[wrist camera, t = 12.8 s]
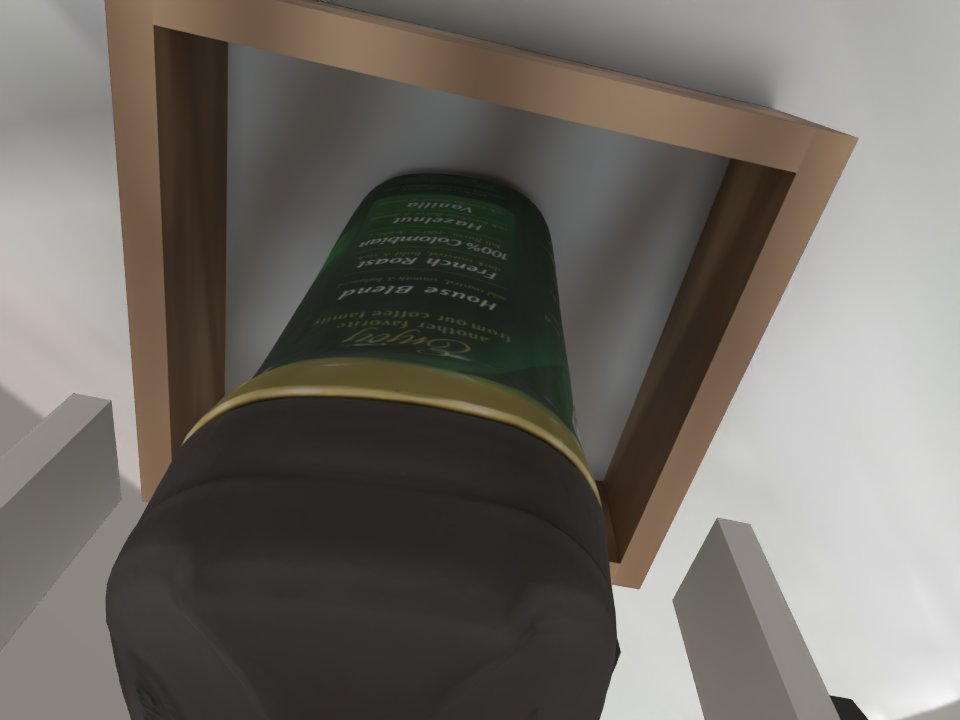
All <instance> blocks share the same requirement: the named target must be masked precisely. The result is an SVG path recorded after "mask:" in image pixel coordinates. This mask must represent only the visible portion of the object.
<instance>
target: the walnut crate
mask: <svg viewBox="0 0 960 720" xmlns="http://www.w3.org/2000/svg"><path fill="white" fill-rule="evenodd" d="M105 10H106V24H107V37H108V50H109V64H110V77H111V91H112V104H113V117H114V131H115V144H116V158H117V171H118V184H119V198H120V211H121V225H122V238H123V251H124V265H125V278H126V292H127V305H128V318H129V332H130V345H131V359H132V372H133V385H134V399H135V412H136V425H137V439H138V452H139V466H140V479H141V492H142V501H145V502H150V500H151V498H152V496H153V494H154V492H155V490H156V488H157V486H158V485H159V483H160V481H161V480H162V478H163V476H164V475H165V473H166V471H167V469H168V467H169V465H170V464H171V462H172V460H173V458H174V457H175V455H176V453H177V452H178V450H179V448H180V447H181V445H182V443H183V441H184V439H185V437H186V436H187V434H188V433H189V432H190V431H191V429H192V428H193V427H194V426H195V424H196V423H197V422H198V421H199V420H200V419H201V418H202V417H203V416H204V415H205V414H206V413H207V412H208V411H209V410H210V409H211V408H212V407H214V406H215V405H216V404H217V403H218V402H219V401H220V400H221V399H222V398H223V397H224V396H226V395H227V394H228V393H230V392H231V391H233V390H234V389H236V388H237V387H239V386H240V385H242V384H243V383H245V382H247V381H249V380H251V379H252V378H253V376H254V375H255V373H256V372H257V371H258V369H259V368H260V367H261V365H262V364H263V362H264V360H265V359H266V357H267V356H268V354H269V353H270V351H271V350H272V348H273V346H274V345H275V343H276V342H277V340H278V338H279V337H280V335H281V334H282V332H283V330H284V329H285V327H286V326H287V324H288V322H289V321H290V319H291V317H292V316H293V314H294V312H295V311H296V309H297V308H298V306H299V305H300V303H301V301H302V300H303V298H304V297H305V295H306V293H307V292H308V290H309V288H310V287H311V285H312V283H313V282H314V280H315V278H316V277H317V275H318V273H319V272H320V270H321V268H322V267H323V265H324V263H325V261H326V260H327V258H328V256H329V254H330V252H331V250H332V249H333V247H334V245H335V243H336V241H337V240H338V238H339V236H340V234H341V233H342V231H343V229H344V228H345V226H346V224H347V223H348V221H349V220H350V218H351V216H352V215H353V213H354V212H355V210H356V209H357V207H358V206H359V205H360V203H361V202H362V200H363V199H364V198H365V196H366V195H367V194H368V193H369V192H370V191H371V190H373V189H374V188H375V187H376V186H378V185H380V184H381V183H383V182H384V181H387V180H389V179H391V178H394V177H397V176H401V175H408V174H420V173H440V174H451V175H460V176H465V177H471V178H477V179H483V180H488V181H492V182H495V183H499V184H502V185H505V186H508V187H510V188H512V189H514V190H516V191H518V192H520V193H521V194H523V195H524V196H525V197H527V198H528V199H529V200H530V201H531V202H533V203H534V204H535V205H536V207H537V208H538V209H539V211H540V212H541V214H542V215H543V217H544V219H545V221H546V223H547V225H548V228H549V231H550V235H551V240H552V246H553V252H554V259H555V266H556V277H557V285H558V293H559V302H560V311H561V319H562V326H563V332H564V339H565V345H566V353H567V360H568V366H569V373H570V381H571V388H572V394H573V401H574V407H575V413H576V419H577V425H578V431H579V436H580V441H581V445H582V448H583V452H584V455H585V457H586V460H587V462H588V464H589V466H590V469H591V471H592V473H593V476H594V479H595V482H596V486H597V489H598V492H599V496H600V501H601V505H602V510H603V515H604V519H605V524H606V532H607V545H608V555H609V565H610V575H611V584H612V585H618V586H623V587H629V588H635V589H640V587H641V585H642V583H643V581H644V579H645V577H646V575H647V573H648V571H649V569H650V567H651V565H652V563H653V560H654V558H655V556H656V554H657V552H658V550H659V548H660V546H661V544H662V542H663V540H664V538H665V536H666V534H667V532H668V530H669V528H670V525H671V523H672V521H673V519H674V517H675V515H676V513H677V511H678V509H679V507H680V505H681V503H682V501H683V499H684V497H685V495H686V493H687V491H688V488H689V486H690V484H691V482H692V480H693V478H694V476H695V474H696V472H697V470H698V468H699V466H700V464H701V462H702V460H703V458H704V456H705V453H706V451H707V449H708V447H709V445H710V443H711V441H712V439H713V437H714V435H715V433H716V431H717V429H718V427H719V425H720V423H721V421H722V418H723V416H724V414H725V412H726V410H727V408H728V406H729V404H730V402H731V400H732V398H733V396H734V394H735V392H736V390H737V388H738V386H739V384H740V381H741V379H742V377H743V375H744V373H745V371H746V369H747V367H748V365H749V363H750V361H751V359H752V357H753V355H754V353H755V351H756V349H757V346H758V344H759V342H760V340H761V338H762V336H763V334H764V332H765V330H766V328H767V326H768V324H769V322H770V320H771V318H772V316H773V314H774V311H775V309H776V307H777V305H778V303H779V301H780V299H781V297H782V295H783V293H784V291H785V289H786V287H787V285H788V283H789V281H790V279H791V277H792V274H793V272H794V270H795V268H796V266H797V264H798V262H799V260H800V258H801V256H802V254H803V252H804V250H805V248H806V246H807V244H808V242H809V239H810V237H811V235H812V233H813V231H814V229H815V227H816V225H817V223H818V221H819V219H820V217H821V215H822V213H823V211H824V209H825V207H826V204H827V202H828V200H829V198H830V196H831V194H832V192H833V190H834V188H835V186H836V184H837V182H838V180H839V178H840V176H841V174H842V172H843V169H844V167H845V165H846V163H847V161H848V159H849V157H850V155H851V153H852V151H853V149H854V147H855V145H856V143H857V141H858V139H859V138H856V137H854V136H851V135H848V134H845V133H842V132H839V131H836V130H833V129H830V128H828V127H825V126H822V125H819V124H816V123H813V122H810V121H807V120H805V119H802V118H799V117H796V116H793V115H790V114H787V113H784V112H781V111H779V110H776V109H772V108H768V107H764V106H759V105H755V104H751V103H747V102H743V101H738V100H734V99H730V98H726V97H722V96H717V95H713V94H709V93H705V92H700V91H696V90H692V89H688V88H684V87H679V86H675V85H671V84H667V83H663V82H658V81H654V80H650V79H646V78H641V77H637V76H633V75H629V74H625V73H620V72H616V71H612V70H608V69H604V68H599V67H595V66H591V65H587V64H582V63H578V62H574V61H570V60H566V59H561V58H557V57H553V56H549V55H545V54H540V53H536V52H532V51H528V50H523V49H519V48H515V47H511V46H507V45H502V44H498V43H494V42H490V41H486V40H481V39H477V38H473V37H469V36H464V35H460V34H456V33H452V32H448V31H443V30H439V29H435V28H431V27H427V26H422V25H418V24H414V23H410V22H405V21H401V20H397V19H393V18H389V17H384V16H380V15H376V14H372V13H368V12H363V11H359V10H355V9H351V8H347V7H342V6H338V5H334V4H330V3H325V2H321V1H317V0H105Z"/></svg>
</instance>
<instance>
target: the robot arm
mask: <svg viewBox="0 0 960 720" xmlns="http://www.w3.org/2000/svg"><path fill="white" fill-rule="evenodd" d="M121 499H122V498H121V489H120V479H119V470H118V460H117V451H116V441H115V432H114V422H113V412H112V403H111V400H106V399H101V398H96V397H91V396H85V395H80V394H75V393H73V394H72V395H71V396H70V397H69V398H67V399H66V400H65V401H64V402H63V403H62V404H61V405H59V406H58V407H57V408H56V409H55V410H54V411H53V412H51V413H50V414H49V415H48V416H47V417H46V418H45V419H44V420H42V421H41V422H40V423H39V424H38V425H37V426H36V427H34V428H33V429H32V430H31V431H30V432H29V433H28V434H26V435H25V436H24V437H23V438H22V439H21V440H20V441H18V442H17V443H16V444H15V445H14V446H13V447H12V448H10V449H9V450H8V451H7V452H6V453H5V454H4V455H3V456H1V457H0V651H1V650H2V648H3V647H4V646H5V645H6V643H7V642H8V641H9V639H10V638H11V637H12V636H13V635H14V633H15V632H16V630H18V628H19V627H20V626H21V625H22V623H23V622H24V621H25V620H26V618H27V617H28V616H29V614H30V613H31V612H32V611H33V610H34V608H35V607H36V606H37V604H38V603H39V602H40V601H41V599H42V598H43V597H44V596H45V594H46V593H47V592H48V591H49V589H50V588H51V587H52V586H53V584H54V583H55V582H56V581H57V579H58V578H59V577H60V576H61V574H62V573H63V572H64V571H65V569H66V568H67V567H68V566H69V564H70V563H71V562H72V560H73V559H74V558H75V557H76V556H77V554H78V553H79V552H80V550H81V549H82V548H83V547H84V545H85V544H86V543H87V542H88V540H89V539H90V538H91V537H92V535H93V534H94V533H95V532H96V530H97V529H98V528H99V526H100V525H101V524H102V523H103V522H104V520H105V519H106V518H107V517H108V515H109V514H110V513H111V511H112V510H113V509H114V508H115V506H116V505H117V504H118V503H119V501H120V500H121ZM673 604H674V608H675V611H676V615H677V619H678V623H679V626H680V630H681V634H682V637H683V641H684V645H685V648H686V652H687V656H688V660H689V663H690V667H691V671H692V674H693V678H694V682H695V685H696V689H697V693H698V697H699V700H700V704H701V708H702V711H703V715H704V719H705V720H868V719H867V717H866V716H865V715H864V714H863V713H862V711H861V710H860V709H859V708H858V707H857V705H856V704H855V703H854V702H853V700H852V699H847V698H841V697H836V696H830V695H829V694H828V691H827V689H826V687H825V685H824V683H823V681H822V678H821V676H820V674H819V672H818V670H817V668H816V665H815V663H814V661H813V659H812V657H811V655H810V652H809V650H808V648H807V646H806V644H805V642H804V639H803V637H802V635H801V633H800V631H799V629H798V626H797V624H796V622H795V620H794V618H793V616H792V613H791V611H790V609H789V607H788V605H787V603H786V600H785V598H784V596H783V594H782V592H781V590H780V587H779V585H778V583H777V581H776V579H775V577H774V574H773V572H772V570H771V568H770V566H769V564H768V561H767V559H766V557H765V555H764V553H763V551H762V548H761V546H760V544H759V542H758V540H757V538H756V535H755V533H754V531H753V529H752V527H751V525H750V524H747V523H742V522H737V521H732V520H727V519H721V518H717V519H716V521H715V523H714V524H713V526H712V528H711V530H710V532H709V534H708V536H707V537H706V539H705V541H704V543H703V545H702V547H701V549H700V550H699V552H698V554H697V556H696V558H695V560H694V561H693V563H692V565H691V567H690V569H689V571H688V573H687V574H686V576H685V578H684V580H683V582H682V584H681V585H680V587H679V589H678V591H677V593H676V595H675V597H674V598H673Z"/></svg>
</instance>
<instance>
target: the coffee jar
mask: <svg viewBox="0 0 960 720" xmlns="http://www.w3.org/2000/svg"><path fill="white" fill-rule="evenodd" d="M106 622H107V625H108V628H109V631H110V636H111V642H112V647H113V652H114V658H115V663H116V668H117V672H118V676H119V682H120V685H121V688H122V692H123V695H124V699H125V702H126V704H127V707H128V711H129V714H130V717H131V720H599V719H600V716H601V713H602V710H603V706H604V702H605V698H606V693H607V690H608V687H609V684H610V680H611V676H612V673H613V671H614V669H615V666H616V664H617V661H618V658H619V656H620V653H621V651H620V647H619V643H618V640H617V630H616V614H615V606H614V599H613V593H612V585H611V575H610V565H609V555H608V545H607V532H606V524H605V519H604V515H603V510H602V505H601V501H600V496H599V492H598V489H597V486H596V482H595V479H594V476H593V473H592V471H591V469H590V466H589V464H588V462H587V460H586V457H585V455H584V452H583V448H582V445H581V441H580V436H579V431H578V425H577V419H576V413H575V407H574V401H573V394H572V388H571V381H570V373H569V366H568V360H567V353H566V345H565V339H564V332H563V326H562V319H561V311H560V302H559V293H558V285H557V277H556V266H555V259H554V252H553V246H552V240H551V235H550V231H549V228H548V225H547V223H546V221H545V219H544V217H543V215H542V214H541V212H540V211H539V209H538V208H537V207H536V205H535V204H534V203H533V202H531V201H530V200H529V199H528V198H527V197H525V196H524V195H523V194H521V193H520V192H518V191H516V190H514V189H512V188H510V187H508V186H505V185H502V184H499V183H495V182H492V181H488V180H483V179H477V178H471V177H465V176H460V175H451V174H440V173H420V174H408V175H401V176H397V177H394V178H391V179H389V180H387V181H384V182H383V183H381V184H380V185H378V186H376V187H375V188H374V189H373V190H371V191H370V192H369V193H368V194H367V195H366V196H365V198H364V199H363V200H362V202H361V203H360V205H359V206H358V207H357V209H356V210H355V212H354V213H353V215H352V216H351V218H350V220H349V221H348V223H347V224H346V226H345V228H344V229H343V231H342V233H341V234H340V236H339V238H338V240H337V241H336V243H335V245H334V247H333V249H332V250H331V252H330V254H329V256H328V258H327V260H326V261H325V263H324V265H323V267H322V268H321V270H320V272H319V273H318V275H317V277H316V278H315V280H314V282H313V283H312V285H311V287H310V288H309V290H308V292H307V293H306V295H305V297H304V298H303V300H302V301H301V303H300V305H299V306H298V308H297V309H296V311H295V312H294V314H293V316H292V317H291V319H290V321H289V322H288V324H287V326H286V327H285V329H284V330H283V332H282V334H281V335H280V337H279V338H278V340H277V342H276V343H275V345H274V346H273V348H272V350H271V351H270V353H269V354H268V356H267V357H266V359H265V360H264V362H263V364H262V365H261V367H260V368H259V369H258V371H257V372H256V373H255V375H254V376H253V378H252V379H251V380H249V381H247V382H245V383H243V384H242V385H240V386H239V387H237V388H236V389H234V390H233V391H231V392H230V393H228V394H227V395H226V396H224V397H223V398H222V399H221V400H220V401H219V402H218V403H217V404H216V405H215V406H214V407H212V408H211V409H210V410H209V411H208V412H207V413H206V414H205V415H204V416H203V417H202V418H201V419H200V420H199V421H198V422H197V423H196V424H195V426H194V427H193V428H192V429H191V431H190V432H189V433H188V434H187V436H186V437H185V439H184V441H183V443H182V445H181V447H180V448H179V450H178V452H177V453H176V455H175V457H174V458H173V460H172V462H171V464H170V465H169V467H168V469H167V471H166V473H165V475H164V476H163V478H162V480H161V481H160V483H159V485H158V486H157V488H156V490H155V492H154V494H153V496H152V498H151V500H150V502H149V503H148V505H147V507H146V509H145V511H144V513H143V515H142V517H141V518H140V520H139V522H138V523H137V525H136V527H135V528H134V529H133V531H132V532H131V534H130V535H129V537H128V539H127V541H126V542H125V544H124V546H123V548H122V550H121V552H120V554H119V556H118V558H117V560H116V562H115V564H114V566H113V568H112V571H111V574H110V577H109V580H108V583H107V590H106Z"/></svg>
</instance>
